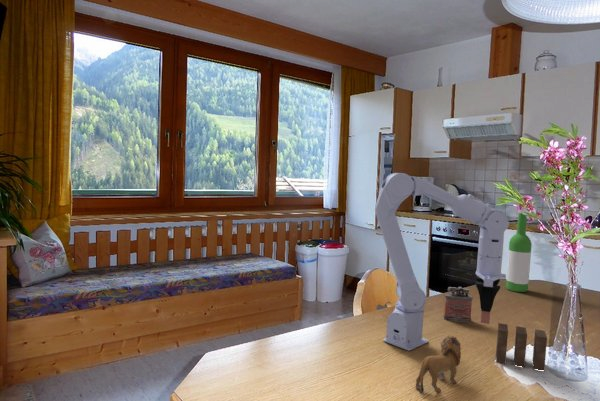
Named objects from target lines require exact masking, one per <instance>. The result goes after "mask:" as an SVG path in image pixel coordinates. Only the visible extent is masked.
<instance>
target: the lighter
mask: <svg viewBox="0 0 600 401" xmlns="http://www.w3.org/2000/svg"><path fill="white" fill-rule="evenodd" d="M447 292H448V293H445V294H444V298H445V300H444V313H443V314H444V315H443V318H444V319H443V318H442V319H443V320H444V321H451V322H457V323H459V322H460V323H471V322H472V316H471V315H472V305H473V303H472V302H473V298H474V297H473V296H472V295H469V294H470V289H469V288H463V287H462V286H458V287H455V286H454V287H452V286H448V287H447Z"/></svg>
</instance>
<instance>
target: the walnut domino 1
mask: <svg viewBox="0 0 600 401" xmlns="http://www.w3.org/2000/svg"><path fill="white" fill-rule="evenodd" d="M508 328H509V327H508V324H507V323H500V322H498V324H497V334H496V335H497V338H496V350H495V363H497V364H502V365H506V363H507V362H506V360H507V351H508V350H507V348H508V337H509V336H508V335H509V329H508Z"/></svg>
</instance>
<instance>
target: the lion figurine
mask: <svg viewBox="0 0 600 401" xmlns="http://www.w3.org/2000/svg"><path fill="white" fill-rule="evenodd" d="M440 348H441V350H440V354H437V355H429V356H425V358H424V359H423V360H422V363H421V366H420V371H419V374H418V376H417V378H416V379H415V389H417V390H419V394H421V395H423V394H424V377H425V376H426V374H427V373H428V372H429V374H430V377H431V386H432V388H433V390H434V391H435V392H437V393H441V392H442V389H441V388H440V387H438V385H437V381H438V379H439V380H444V379H445V375H444V374H445V373H446V372H447V371H450V376H449V381H450V383H451V384H457V381H456V379H455V377H456V373H457V366H458V365H460V363H461V356H462V354H461V352H462V351H461V350H462V348H461V342H460V340H458V339H457V337H456V336H454V335H447V336H446V337H444V338H443V340H442V341H441V342H440Z"/></svg>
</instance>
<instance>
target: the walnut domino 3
mask: <svg viewBox="0 0 600 401" xmlns="http://www.w3.org/2000/svg"><path fill="white" fill-rule="evenodd" d="M546 333H547V332H546V331H545V330H543V329H536V328H535V329H534V338H533V339H534V340H533V351H532V352H533V353H532V361H533V362H532V366H533V365H534V366H533V370H534V369H538V370H544V371H545V367H546V366H545V365H546V357H547V356H546V354H547V343H548V335H547V334H546Z"/></svg>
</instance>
